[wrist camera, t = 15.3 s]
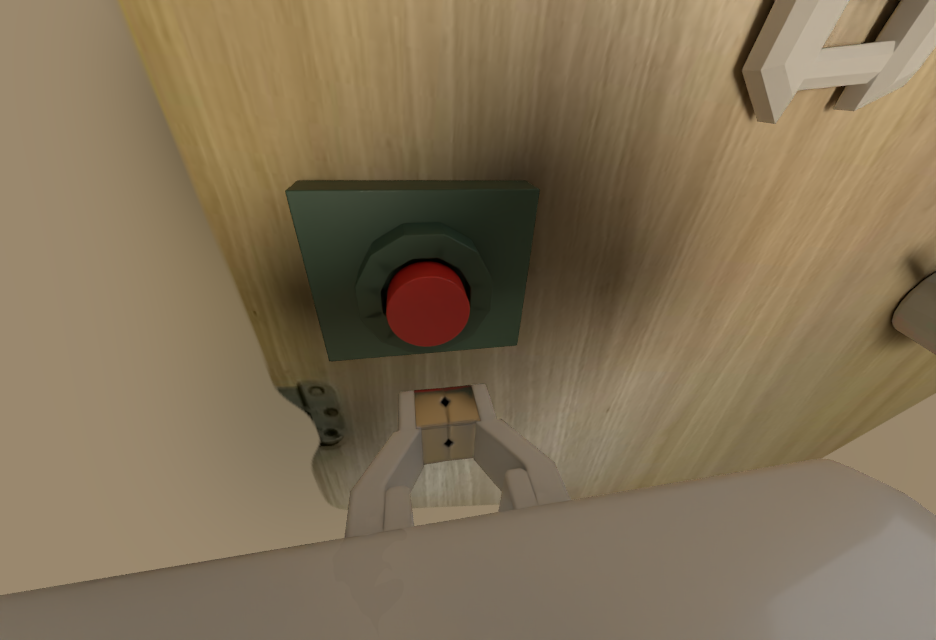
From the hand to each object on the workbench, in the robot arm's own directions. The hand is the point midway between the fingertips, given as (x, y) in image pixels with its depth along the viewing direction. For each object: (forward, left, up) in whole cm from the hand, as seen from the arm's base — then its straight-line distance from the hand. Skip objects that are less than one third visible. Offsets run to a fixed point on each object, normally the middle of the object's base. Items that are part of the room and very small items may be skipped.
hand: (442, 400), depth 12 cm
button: (0, 0, -7) cm, 7 cm away
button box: (0, 0, -11) cm, 11 cm away
